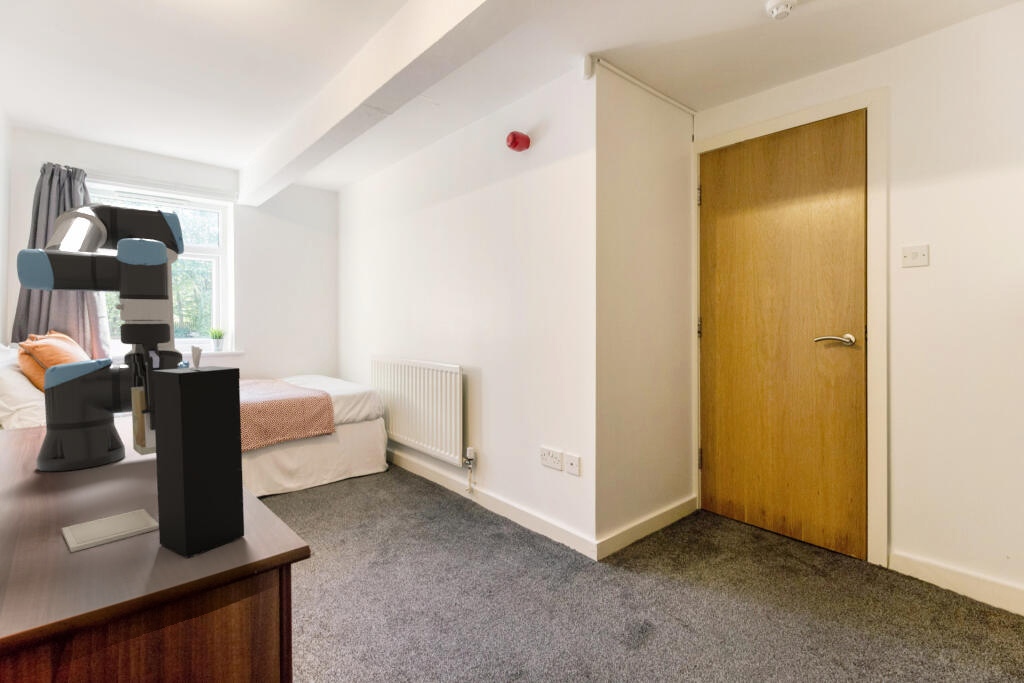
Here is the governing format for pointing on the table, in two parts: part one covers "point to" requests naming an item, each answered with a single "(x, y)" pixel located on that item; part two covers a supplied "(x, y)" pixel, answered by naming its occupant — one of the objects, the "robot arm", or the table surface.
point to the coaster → (108, 529)
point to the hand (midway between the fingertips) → (150, 442)
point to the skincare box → (139, 422)
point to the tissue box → (198, 456)
